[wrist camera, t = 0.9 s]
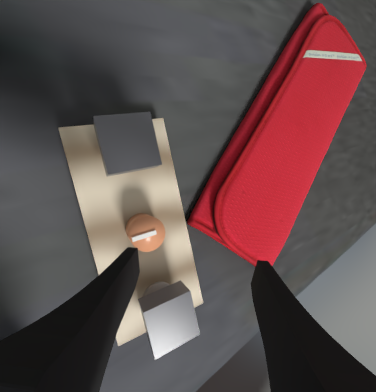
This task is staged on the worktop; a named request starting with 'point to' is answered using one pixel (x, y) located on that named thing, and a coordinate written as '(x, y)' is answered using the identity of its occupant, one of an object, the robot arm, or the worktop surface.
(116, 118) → the button
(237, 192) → the dish drying mat
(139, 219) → the orange knob
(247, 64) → the worktop surface
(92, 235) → the mount board
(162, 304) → the button
